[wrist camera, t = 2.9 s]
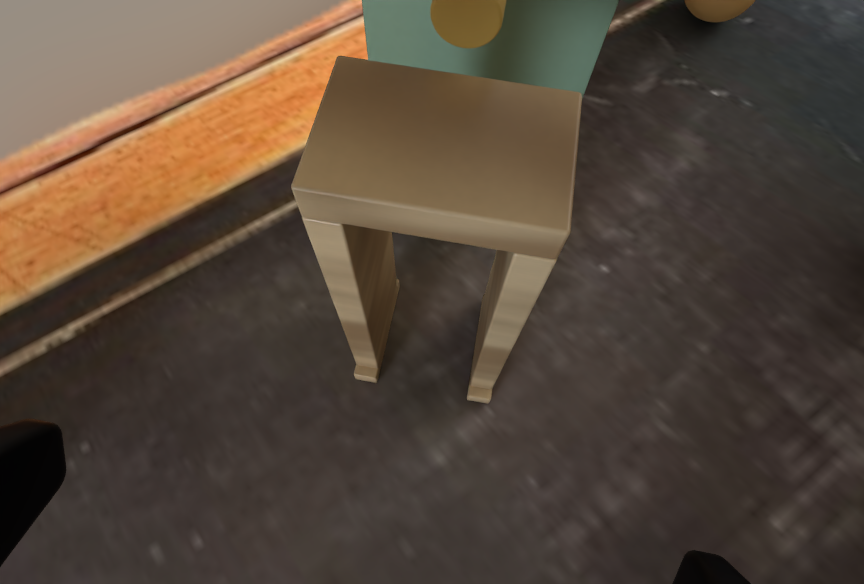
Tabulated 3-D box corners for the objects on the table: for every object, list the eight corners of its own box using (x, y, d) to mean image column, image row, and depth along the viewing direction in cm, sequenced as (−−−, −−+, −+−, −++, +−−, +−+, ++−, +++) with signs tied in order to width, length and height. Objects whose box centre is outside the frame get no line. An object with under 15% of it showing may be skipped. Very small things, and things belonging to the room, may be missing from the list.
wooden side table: (488, 404, 21) (569, 252, 10) (355, 379, 21) (282, 204, 10) (502, 303, 23) (584, 77, 11) (379, 281, 23) (341, 40, 12)
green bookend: (533, 306, 23) (736, -99, 8) (351, 274, 23) (235, -165, 9) (550, 151, 26) (714, -328, 12) (392, 125, 27) (359, -365, 12)
